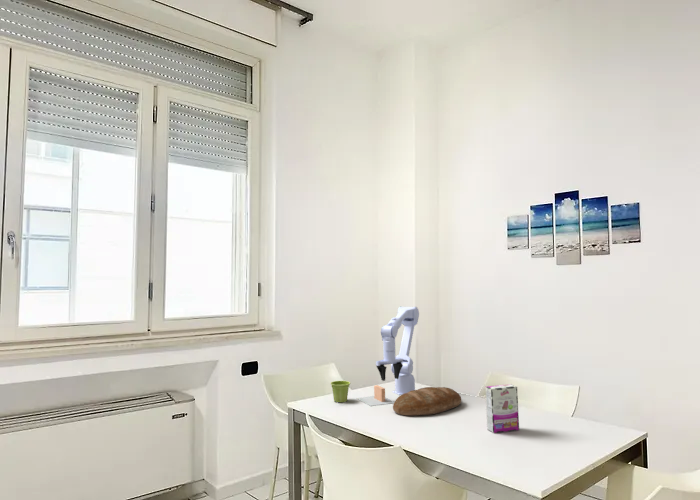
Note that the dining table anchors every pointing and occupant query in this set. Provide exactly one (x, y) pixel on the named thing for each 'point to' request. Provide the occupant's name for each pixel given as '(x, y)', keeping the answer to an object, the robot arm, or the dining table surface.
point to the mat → (374, 401)
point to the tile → (379, 393)
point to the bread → (426, 401)
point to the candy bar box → (502, 408)
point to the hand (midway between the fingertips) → (390, 379)
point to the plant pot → (340, 390)
